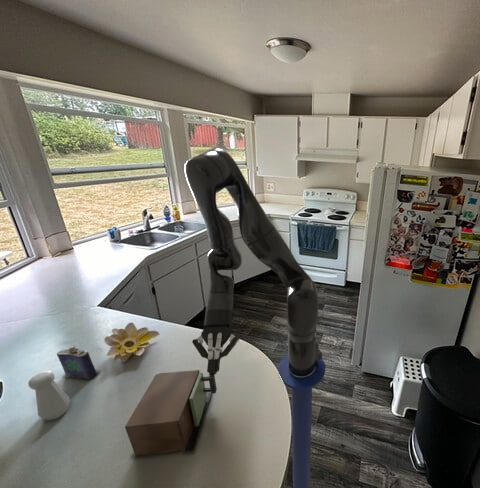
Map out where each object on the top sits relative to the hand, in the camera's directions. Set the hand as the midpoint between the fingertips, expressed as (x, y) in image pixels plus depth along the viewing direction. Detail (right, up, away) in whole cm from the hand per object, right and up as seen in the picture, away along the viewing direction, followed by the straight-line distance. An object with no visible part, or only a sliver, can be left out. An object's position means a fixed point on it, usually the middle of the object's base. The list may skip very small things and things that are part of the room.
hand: (212, 374), depth 68 cm
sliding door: (-1, -10, -1) cm, 10 cm away
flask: (-45, -5, +9) cm, 46 cm away
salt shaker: (-41, -9, -2) cm, 42 cm away
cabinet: (-9, -11, -3) cm, 14 cm away
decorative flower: (-36, -2, +18) cm, 40 cm away
